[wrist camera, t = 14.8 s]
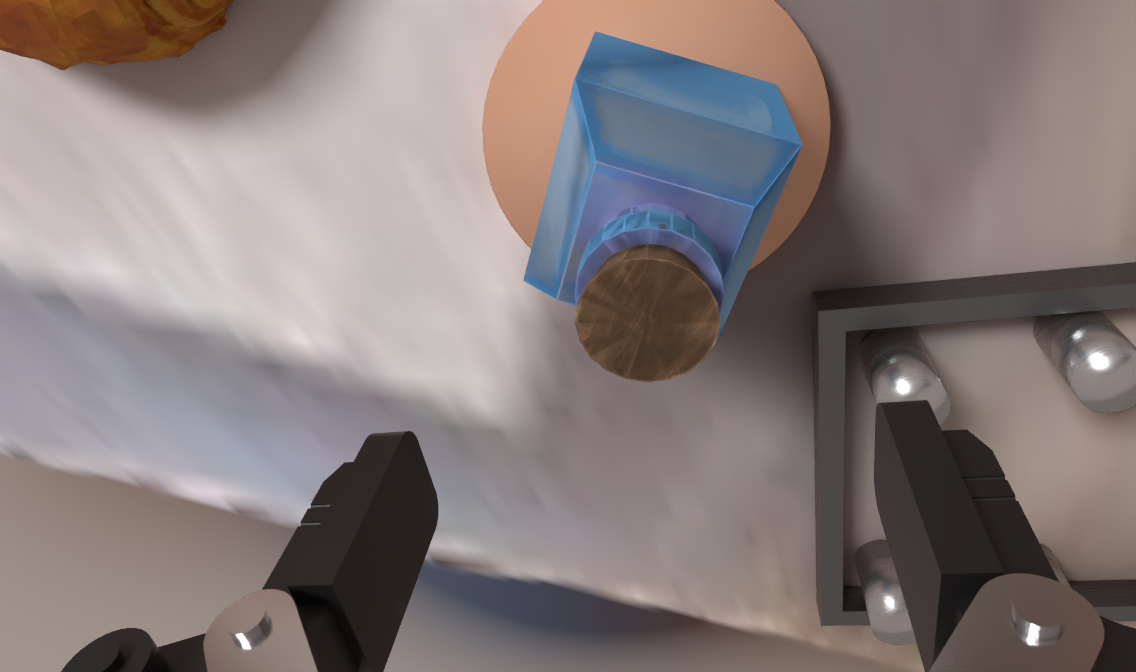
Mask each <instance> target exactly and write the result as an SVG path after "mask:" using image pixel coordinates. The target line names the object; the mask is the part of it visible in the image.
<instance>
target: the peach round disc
mask: <svg viewBox="0 0 1136 672" xmlns="http://www.w3.org/2000/svg"><path fill="white" fill-rule="evenodd" d="M595 31H596V32H600V33H603V34H606V35H610V36H613V37H617V38H620V39H623V40H627V41H630V42H634V43H637V44H640V45H644V46H647V47H651V48H654V49H657V50H661V51H664V52H668V53H671V54H674V55H678V56H681V57H685V58H688V59H691V60H695V61H698V62H702V63H705V64H708V65H712V66H715V67H719V68H722V69H725V70H729V71H732V72H736V73H739V74H743V75H746V76H749V77H753V78H756V79H760V80H763V81H766V82H770V83H773V84H777V87H778V89H779V91H780V94H781V96H782V98H783V101H784V103H785V105H786V108H787V110H788V112H789V114H790V117H791V119H792V121H793V124H794V126H795V128H796V131H797V133H798V135H799V138H800V140H801V142H802V147H801V149H800V151H799V154H798V156H797V158H796V161H795V163H794V165H793V168H792V170H791V172H790V175H789V177H788V179H787V181H786V184H785V186H784V188H783V191H782V193H781V195H780V198H779V200H778V202H777V205H776V207H775V209H774V212H773V214H772V216H771V218H770V221H769V223H768V225H767V228H766V230H765V232H764V235H763V237H762V239H761V242H760V244H759V246H758V249H757V251H756V253H755V255H754V258H753V260H752V262H751V265H750V267H749V269H748V271H749V270H751V269H752V268H754V267H755V266H757V265H758V264H759V263H761V262H762V261H764V260H765V259H766V258H767V257H768V256H769V255H771V254H772V253H773V252H774V251H775V250H776V249H777V248H778V247H779V246H781V244H782V243H783V242H784V241H785V240H786V239H787V238H788V236H789V235H790V234H791V233H792V232H793V231H794V229H795V228H796V227H797V225H798V224H799V222H800V221H801V219H802V218H803V216H804V215H805V213H806V212H807V210H808V208H809V206H810V204H811V202H812V200H813V198H814V196H815V194H816V192H817V190H818V187H819V184H820V181H821V178H822V176H823V173H824V170H825V165H826V160H827V155H828V150H829V141H830V126H831V124H830V110H829V100H828V95H827V91H826V86H825V81H824V78H823V75H822V72H821V69H820V67H819V64H818V61H817V59H816V56H815V54H814V53H813V51H812V49H811V47H810V45H809V43H808V42H807V40H806V38H805V36H804V35H803V33H802V32H801V30H800V29H799V27H798V26H797V25H796V24H795V22H794V21H793V20H792V18H791V17H790V16H789V14H788V13H787V12H786V10H785V9H784V8H783V7H782V6H781V5H780V4H779V3H778V2H777V1H776V0H543V1H542V3H541V4H540V5H539V6H538V7H537V8H536V9H535V10H534V11H533V12H532V13H531V14H530V15H529V16H528V17H527V18H526V19H525V21H524V22H523V23H522V24H521V26H520V27H519V28H518V30H517V31H516V32H515V34H514V35H513V37H512V38H511V39H510V41H509V42H508V44H507V46H506V48H505V50H504V51H503V53H502V55H501V57H500V59H499V61H498V63H497V65H496V68H495V71H494V73H493V76H492V79H491V81H490V84H489V89H488V93H487V97H486V101H485V107H484V117H483V150H484V156H485V162H486V168H487V172H488V176H489V179H490V182H491V186H492V189H493V192H494V194H495V196H496V198H497V200H498V203H499V205H500V207H501V209H502V211H503V213H504V214H505V216H506V218H507V219H508V221H509V222H510V224H511V226H512V227H513V228H514V230H515V231H516V232H517V233H518V235H519V236H520V237H521V239H522V240H523V241H524V242H525V243H526V244H527V245H528V246H529V247H530V248H532V244H533V240H534V236H535V232H536V229H537V225H538V221H539V217H540V213H541V209H542V205H543V201H544V197H545V193H546V189H547V185H548V181H549V177H550V173H551V169H552V165H553V161H554V158H555V154H556V150H557V146H558V142H559V138H560V134H561V130H562V126H563V122H564V118H565V114H566V110H567V106H568V102H569V98H570V94H571V90H572V87H573V83H574V79H575V76H576V74H577V72H578V69H579V67H580V65H581V63H582V60H583V58H584V56H585V53H586V51H587V49H588V47H589V44H590V42H591V40H592V38H593V35H594V33H595Z"/></svg>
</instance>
